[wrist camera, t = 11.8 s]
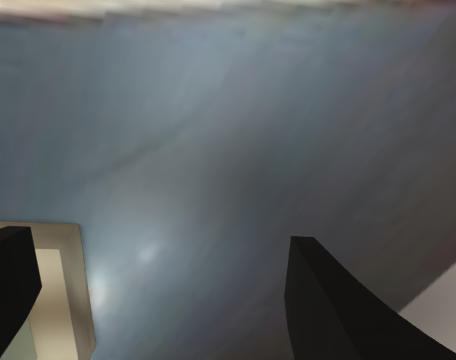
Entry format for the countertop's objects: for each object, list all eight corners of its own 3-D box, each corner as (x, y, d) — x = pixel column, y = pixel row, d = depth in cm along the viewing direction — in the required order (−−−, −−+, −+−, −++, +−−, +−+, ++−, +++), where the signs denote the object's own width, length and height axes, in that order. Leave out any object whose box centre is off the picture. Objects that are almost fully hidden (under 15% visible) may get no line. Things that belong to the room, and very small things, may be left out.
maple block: (98, 339, 25) (81, 378, 22) (-37, 334, 25) (-71, 373, 22) (81, 219, 21) (59, 249, 19) (-76, 214, 21) (-122, 243, 19)
